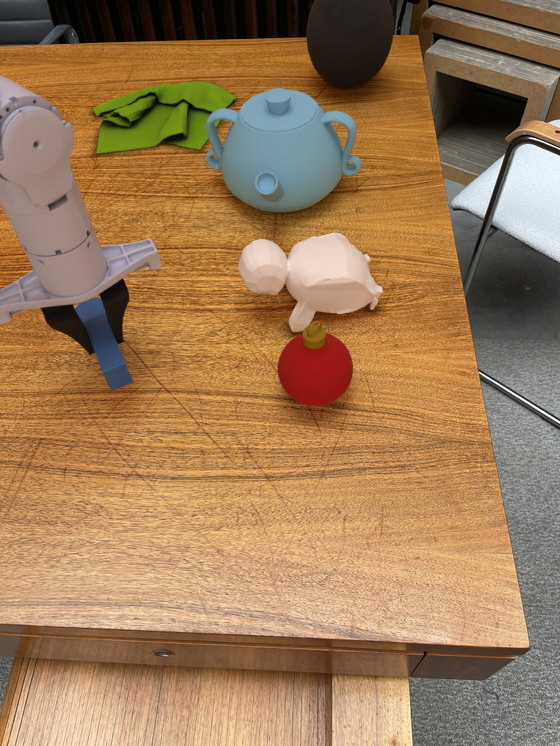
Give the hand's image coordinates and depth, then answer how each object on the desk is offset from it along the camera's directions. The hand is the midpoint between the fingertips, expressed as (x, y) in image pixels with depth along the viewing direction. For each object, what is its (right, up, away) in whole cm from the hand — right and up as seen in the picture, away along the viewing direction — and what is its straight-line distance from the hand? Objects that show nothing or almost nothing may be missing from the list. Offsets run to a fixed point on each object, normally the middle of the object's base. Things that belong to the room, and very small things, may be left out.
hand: (104, 341), depth 62 cm
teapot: (+17, +19, +20) cm, 33 cm away
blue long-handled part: (0, -1, +1) cm, 1 cm away
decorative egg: (+27, +41, +35) cm, 61 cm away
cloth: (-1, +35, +33) cm, 48 cm away
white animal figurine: (+20, +5, +9) cm, 23 cm away
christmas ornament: (+21, -5, +1) cm, 21 cm away
